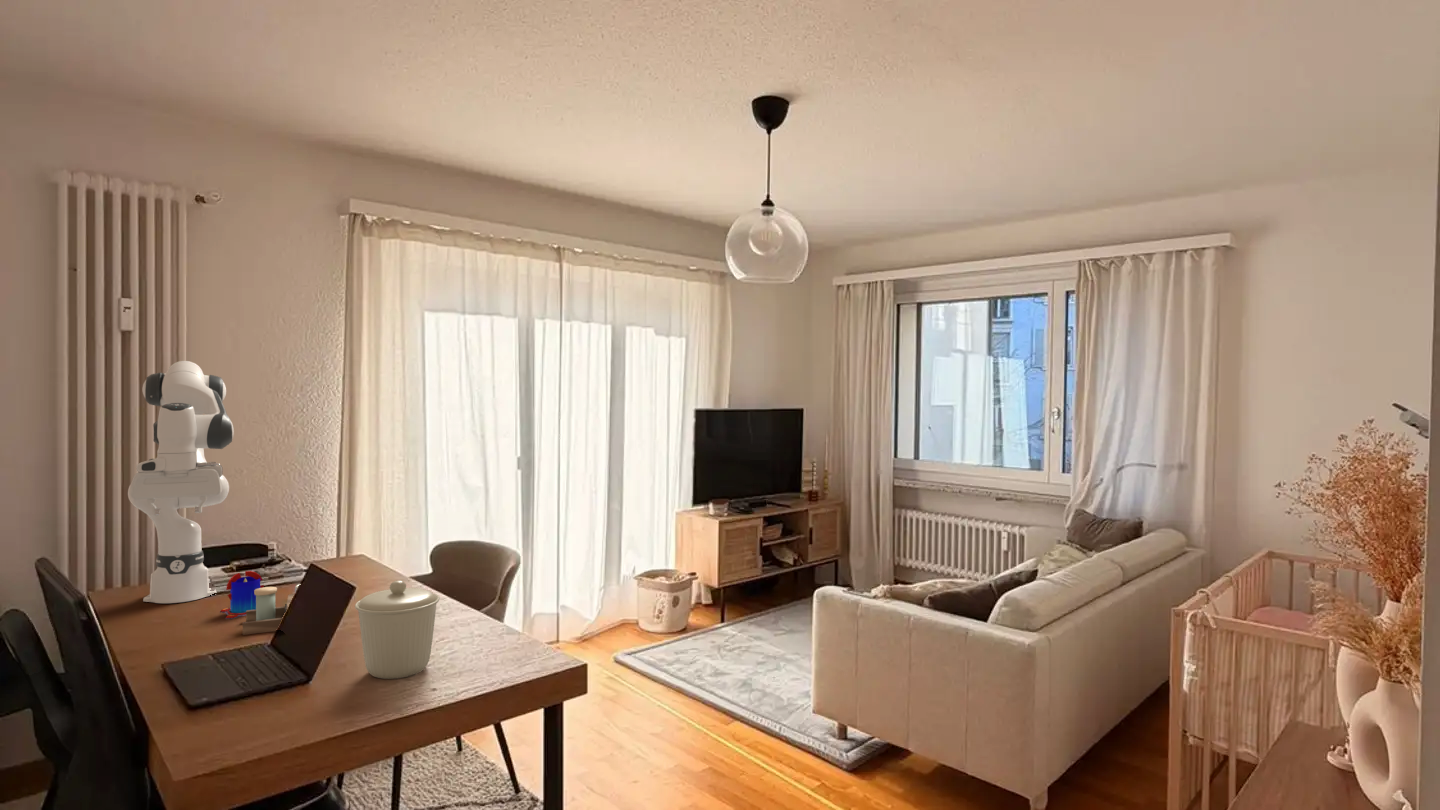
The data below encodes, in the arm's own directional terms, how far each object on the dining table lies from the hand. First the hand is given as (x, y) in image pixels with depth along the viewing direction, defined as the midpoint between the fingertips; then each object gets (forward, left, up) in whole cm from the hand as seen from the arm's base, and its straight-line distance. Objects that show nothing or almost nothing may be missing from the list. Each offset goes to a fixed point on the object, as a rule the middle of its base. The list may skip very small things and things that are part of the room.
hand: (177, 513), depth 211 cm
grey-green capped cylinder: (+8, +21, -31) cm, 38 cm away
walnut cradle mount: (+8, +22, -31) cm, 39 cm away
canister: (+62, +50, -31) cm, 86 cm away
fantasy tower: (-10, +15, -31) cm, 36 cm away
